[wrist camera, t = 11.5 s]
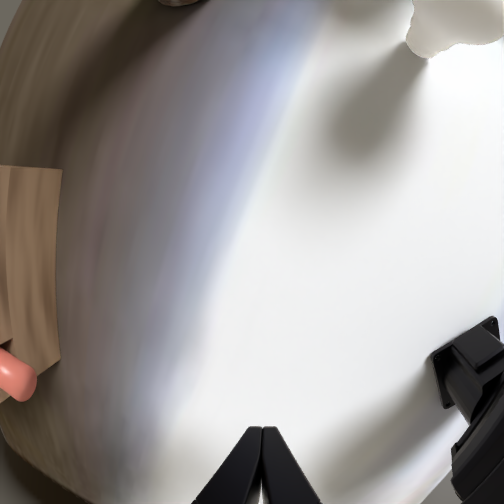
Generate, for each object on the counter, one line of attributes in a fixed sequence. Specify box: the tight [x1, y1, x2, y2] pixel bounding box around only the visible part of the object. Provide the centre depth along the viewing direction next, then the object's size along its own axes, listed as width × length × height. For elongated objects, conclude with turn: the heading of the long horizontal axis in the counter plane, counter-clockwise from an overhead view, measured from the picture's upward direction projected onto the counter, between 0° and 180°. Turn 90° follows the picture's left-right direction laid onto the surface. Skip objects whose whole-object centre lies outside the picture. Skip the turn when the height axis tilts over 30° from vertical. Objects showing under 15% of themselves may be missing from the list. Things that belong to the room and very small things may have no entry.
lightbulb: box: [406, 0, 504, 59], centre depth 11 cm, size 6×6×11 cm
